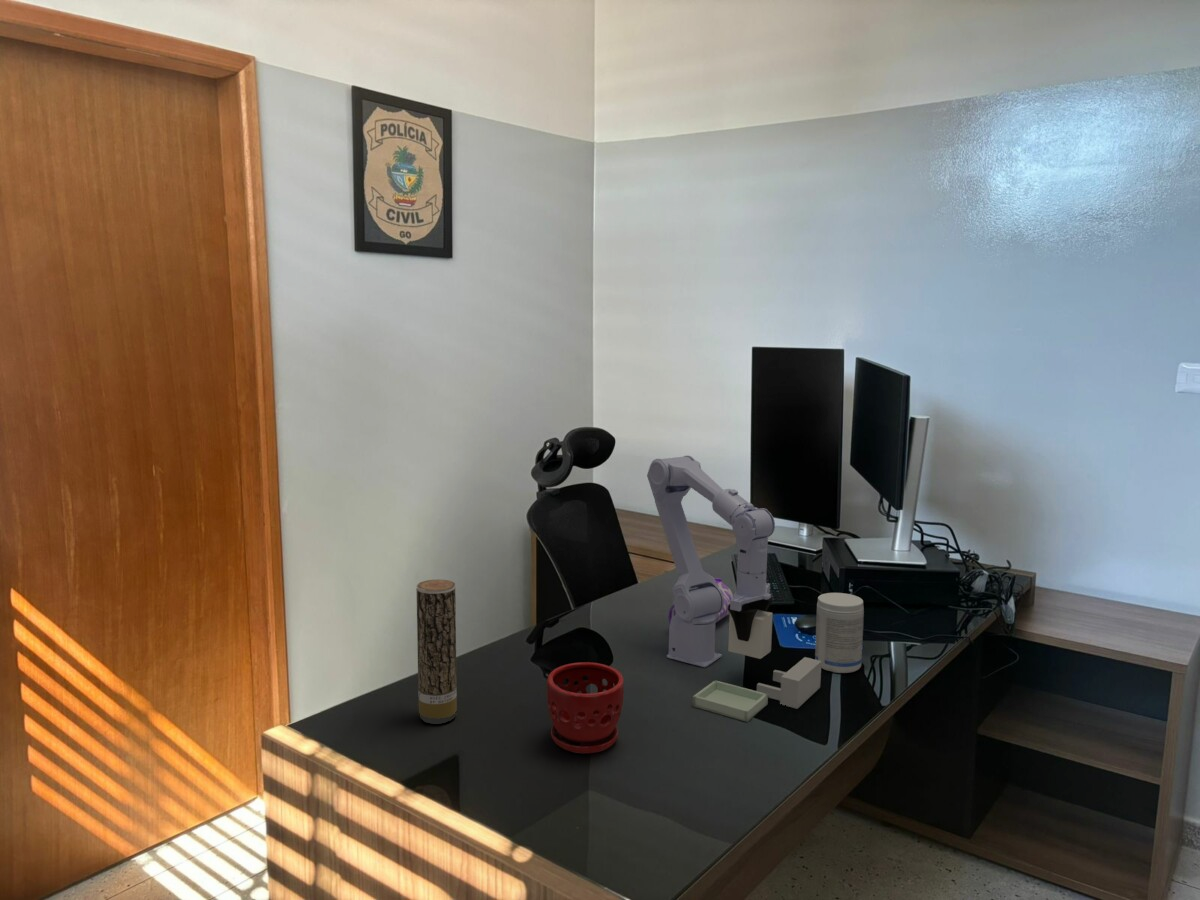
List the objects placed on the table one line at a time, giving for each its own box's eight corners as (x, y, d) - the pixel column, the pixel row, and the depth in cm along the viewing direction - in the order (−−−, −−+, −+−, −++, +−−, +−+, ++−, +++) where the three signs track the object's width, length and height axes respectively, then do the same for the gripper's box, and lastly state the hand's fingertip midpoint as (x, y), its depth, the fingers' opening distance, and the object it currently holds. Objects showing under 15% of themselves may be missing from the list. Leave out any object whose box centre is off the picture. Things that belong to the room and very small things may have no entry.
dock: (753, 696, 171) (754, 669, 170) (777, 676, 181) (778, 651, 180) (797, 708, 166) (798, 681, 165) (820, 687, 176) (821, 661, 175)
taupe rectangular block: (725, 650, 177) (727, 612, 176) (736, 642, 181) (737, 605, 180) (760, 659, 173) (762, 619, 172) (770, 651, 177) (772, 613, 176)
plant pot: (532, 738, 153) (532, 672, 151) (592, 718, 161) (593, 655, 159) (576, 769, 143) (576, 699, 141) (638, 746, 150) (639, 679, 149)
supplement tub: (870, 668, 185) (874, 601, 183) (839, 678, 180) (843, 609, 178) (835, 653, 193) (838, 589, 191) (804, 662, 188) (807, 596, 186)
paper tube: (463, 713, 162) (462, 581, 158) (445, 729, 156) (443, 592, 152) (430, 707, 164) (428, 577, 161) (411, 722, 158) (409, 588, 154)
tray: (692, 706, 166) (692, 696, 166) (714, 689, 174) (715, 680, 173) (747, 722, 160) (747, 711, 160) (767, 704, 168) (768, 694, 167)
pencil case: (701, 609, 222) (702, 573, 220) (736, 616, 217) (738, 579, 216) (664, 636, 203) (665, 597, 201) (702, 644, 198) (703, 604, 197)
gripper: (755, 582, 166) (752, 651, 168) (785, 565, 178) (782, 629, 180) (721, 576, 170) (719, 643, 172) (752, 559, 182) (750, 622, 184)
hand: (749, 635), depth 176 cm, fingers closed on taupe rectangular block, 5 cm apart
